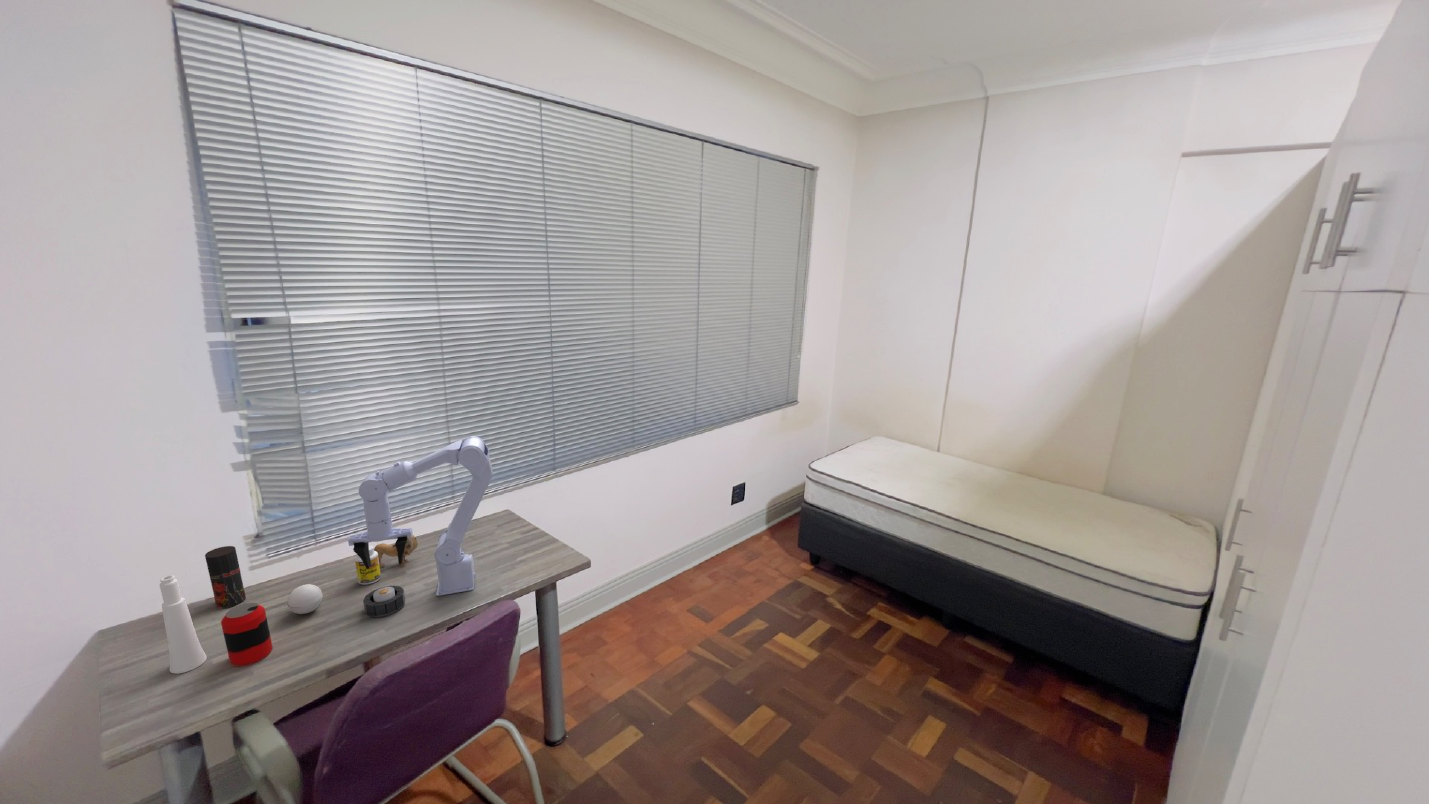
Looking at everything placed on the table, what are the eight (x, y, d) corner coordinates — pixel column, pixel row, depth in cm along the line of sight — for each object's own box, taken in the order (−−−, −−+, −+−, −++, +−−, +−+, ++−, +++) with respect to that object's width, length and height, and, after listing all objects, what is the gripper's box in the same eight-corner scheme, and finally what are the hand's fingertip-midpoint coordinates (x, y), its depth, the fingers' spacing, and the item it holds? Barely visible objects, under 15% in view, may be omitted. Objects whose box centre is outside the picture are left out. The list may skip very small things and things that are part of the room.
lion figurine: (422, 557, 168) (419, 531, 165) (417, 566, 163) (413, 539, 160) (370, 561, 164) (366, 535, 162) (363, 570, 159) (359, 543, 157)
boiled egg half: (397, 598, 145) (395, 584, 144) (394, 608, 141) (392, 594, 140) (377, 601, 144) (375, 588, 143) (373, 612, 139) (370, 598, 138)
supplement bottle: (358, 587, 151) (353, 555, 148) (358, 578, 155) (353, 546, 153) (381, 582, 154) (377, 549, 151) (380, 573, 158) (376, 541, 156)
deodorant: (250, 599, 145) (240, 549, 141) (223, 611, 140) (212, 559, 136) (238, 593, 147) (228, 544, 144) (211, 605, 142) (200, 554, 138)
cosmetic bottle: (198, 670, 119) (176, 582, 114) (163, 676, 117) (140, 587, 112) (212, 652, 125) (192, 568, 119) (179, 658, 123) (157, 572, 117)
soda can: (265, 662, 122) (255, 616, 119) (223, 670, 119) (212, 623, 116) (278, 641, 129) (269, 597, 126) (239, 648, 126) (229, 603, 123)
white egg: (321, 599, 145) (317, 575, 144) (327, 611, 140) (322, 586, 138) (274, 615, 138) (269, 589, 137) (278, 628, 133) (273, 602, 132)
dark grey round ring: (407, 594, 148) (406, 583, 147) (401, 613, 140) (399, 601, 139) (370, 600, 145) (368, 589, 144) (361, 620, 137) (359, 608, 136)
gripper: (412, 508, 148) (417, 553, 151) (350, 515, 143) (357, 561, 146) (407, 519, 141) (413, 565, 144) (343, 527, 136) (350, 575, 139)
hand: (384, 564), depth 145 cm, fingers open, 7 cm apart
